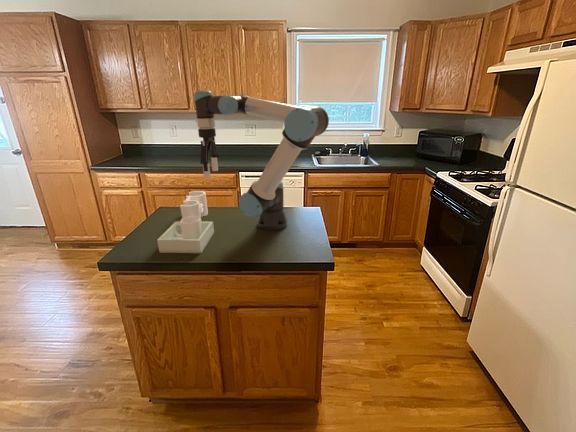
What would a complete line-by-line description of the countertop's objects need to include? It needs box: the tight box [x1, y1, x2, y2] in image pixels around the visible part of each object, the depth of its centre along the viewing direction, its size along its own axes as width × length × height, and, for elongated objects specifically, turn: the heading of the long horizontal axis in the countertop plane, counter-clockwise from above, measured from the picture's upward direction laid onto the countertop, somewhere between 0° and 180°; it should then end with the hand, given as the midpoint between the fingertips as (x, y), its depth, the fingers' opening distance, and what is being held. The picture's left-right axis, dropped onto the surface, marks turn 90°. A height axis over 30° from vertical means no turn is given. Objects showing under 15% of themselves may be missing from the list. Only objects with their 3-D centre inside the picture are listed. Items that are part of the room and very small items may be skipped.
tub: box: [156, 220, 215, 254], centre depth 138 cm, size 18×20×6 cm
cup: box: [173, 216, 202, 239], centre depth 137 cm, size 8×12×10 cm
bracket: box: [179, 190, 209, 221], centre depth 162 cm, size 25×10×12 cm, turn 4°
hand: (211, 174), depth 146 cm, fingers open, 13 cm apart
